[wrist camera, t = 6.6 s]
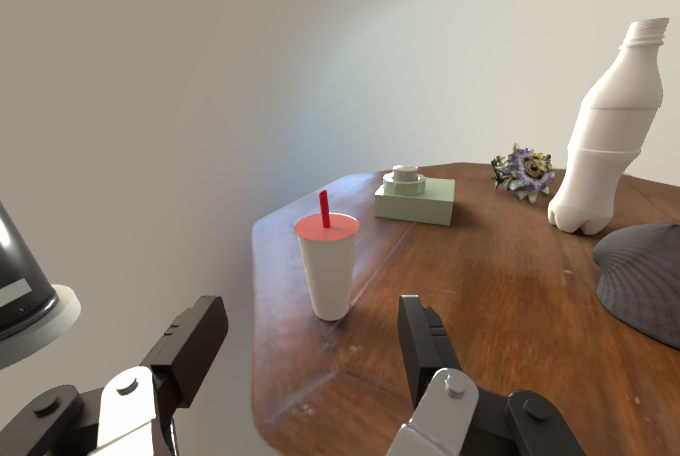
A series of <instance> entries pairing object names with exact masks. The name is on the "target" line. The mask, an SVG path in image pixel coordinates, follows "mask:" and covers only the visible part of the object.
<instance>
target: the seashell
mask: <svg viewBox="0 0 680 456" xmlns="http://www.w3.org/2000/svg"><path fill="white" fill-rule="evenodd" d="M592 258H593V261H594V262H595V263H596V264H597V266H599V267H600V268H601V277H600V280H599V283H598V285H597V287H596V291H595V294H596V296H597V298H598V299H599V301H601V303H602V304H603V305H604V307H605V308H606V309H607V310H608V311H609V312H610V313H612V314H613V315H614V316H615V317H616V318H618V319H620V320H623V321H625V322H626V323H628V324H629V325H630V326H631V327H634V328H636V329H638V330H639V331H640V332H642V333H644V334H646V335H648V336H651V337H653V338H655V339H657V340H659V341H660V342H663V343H665V344H669V345H670V346H673V347H675V348H677V349H680V225H678V224H672V223H652V224H643V225H637V226H631V227H627V228H623V229H619V230H617V231H614V232H612V233H610V234H608V235H607V236H605V237H604V238H603V239H602V240H601V241H600V242H599V243H598V244H597V245H596V246H595V247H594V249H593V252H592Z"/></svg>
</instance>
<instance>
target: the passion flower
mask: <svg viewBox="0 0 680 456" xmlns="http://www.w3.org/2000/svg"><path fill="white" fill-rule="evenodd" d="M533 152H534V150H530V151H528V149H527V148H526V149H525V150H524V149H520V148H519V145H518V144H516V143H515V144H514V147H513V152H512V154H510V155H508V160H507V161H505V162H504V163H503V164H502V162H501V161H500V160H503V159H504V158H505V157H501V156H497V160H495V159H494V160H493V161H491V163H492V166H493V168H494V171H495V175H494V176H493V177H492V178H491V180H493V179H496V184H495V191H496V189H497V187H498V185H499V184H501V183H503V181H504V180H506V179H508V178H511V177H512V178H511V180H509V181H508V182H507V183H506V184H505V189H506V190H507V191H508V190H514V192H515V196H516V198H517V199H518V200H519V201H521V200H522V199H523V198H524V199H525V200H526V201H527V202H528V203H529V204H533V203H534V202H535V201H536V198H537V193H539V192H541V193H543V194H545V195H548V194H549V188H548V187H547V184H548V183H549V182H551V180H552V177H554V176H555V173H554V172H553V170H551V168H552V166H551V164H550V158H551V156H550V155H549V154H548V155H547V156H546V157H545V156H542V155H543V153H537V154H536V153H533ZM546 161H547V162H546ZM497 163H499V164H500V165H499V166H497ZM495 167H496V168H495ZM497 171H499V172H498V173H497ZM505 175H506V176H505ZM508 175H510V176H509V177H507V176H508ZM503 176H504V177H503ZM552 181H553V180H552ZM549 184H551V183H549Z"/></svg>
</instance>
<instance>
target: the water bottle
mask: <svg viewBox="0 0 680 456" xmlns="http://www.w3.org/2000/svg"><path fill="white" fill-rule="evenodd" d="M668 23H669V18H658V19H650V20H644V21H638V22H634V23H632V24H631V26H630V28H629V31H628V33H627V37H626V39H625V40H624V41H623V42H624V43H623V45H621V46H620V47H619V49H621V52H620V54H619V56H618V58H617V59H616V61H615V63H614V64H613V66H612V67H611V68H610V69H609V70H608V71H607V72H606V73H605V74H604V76H603V77H602V78H601V79H600V80H599V81H598V82H597V83H596V84H595V86H594V87H593V88H592V89H591V90H590V91H589V93H588V94H587V95H586V97H585V98H584V100H583V102H582V104H581V110H580V113H579V116H578V120H577V123H576V126H575V129H574V132H573V135H572V138H571V141H570V144H569V145H568V167H567V171H566V175H565V178H564V181H563V183H562V185H561V187H560V189H559V191H558V193H557V194H556V195H555V197H554V198H553V200H552V201H551V202H550V203H549V207H548V218H549V222H550V223H551V224H553V225H557V227H558V228H559V229H560V230H562V231H564V232H568V233H573V232H574V231H576V230H577V229H578V228H579V227H581V229H582V231H583V233H584V234H586V235H592V234H596V233H598V232H599V231H601V230H602V229H603V228H604V227H605V226H606V225H607V224H608V223H609V222H610V220H611V219H612V217H613V214H614V211H613V201H614V194H615V189H616V187H617V184H618V181H619V179H620V177H621V175H622V174H623V172H624V171H625V169H626V168H627V167H628V166H629V164H630V163H631V162H632V161H633V160H634V159H635V158H636V157H638V155H639V154H640V152H641V146H642V144H643V142H644V139H645V137H646V135H647V133H648V130H649V128H650V125H651V123H652V121H653V119H654V116H655V114H656V112H657V110H658V108H660V107H661V103H662V98H663V89H662V83H661V79H660V75H659V71H658V67H657V53H658V49H659V46H661V45H663V44H664V42H663V41H662V38H664V35H663V34H664V31H665V29H666V27H667V24H668Z"/></svg>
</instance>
